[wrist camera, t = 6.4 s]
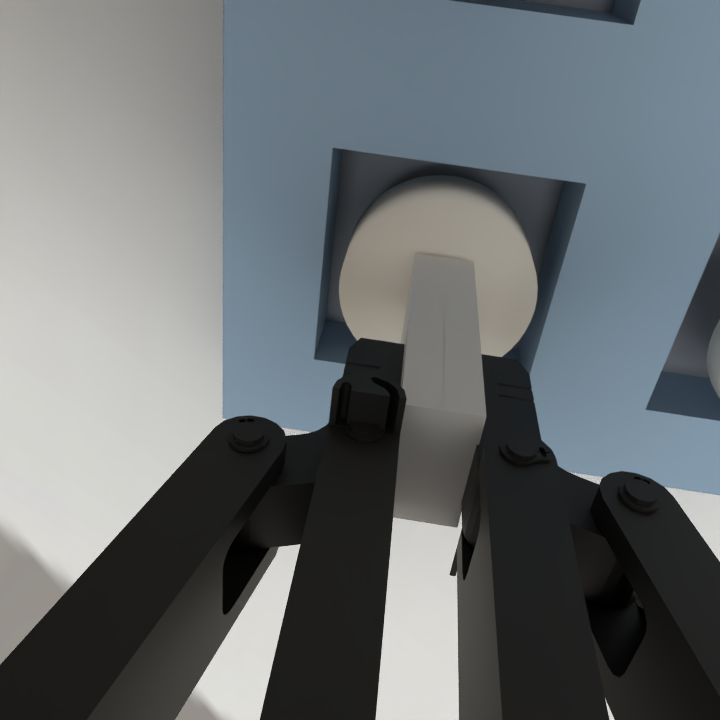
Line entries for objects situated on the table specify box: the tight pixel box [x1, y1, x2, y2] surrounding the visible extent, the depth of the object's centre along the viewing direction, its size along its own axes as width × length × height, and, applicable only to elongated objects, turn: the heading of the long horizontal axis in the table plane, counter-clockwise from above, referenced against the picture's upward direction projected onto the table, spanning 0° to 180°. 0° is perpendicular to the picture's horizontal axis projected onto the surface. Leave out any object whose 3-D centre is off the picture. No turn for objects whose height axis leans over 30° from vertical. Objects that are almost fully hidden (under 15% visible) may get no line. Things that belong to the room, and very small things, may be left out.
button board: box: [223, 0, 720, 495], centre depth 17 cm, size 22×22×3 cm
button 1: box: [339, 175, 538, 357], centre depth 19 cm, size 5×5×3 cm
